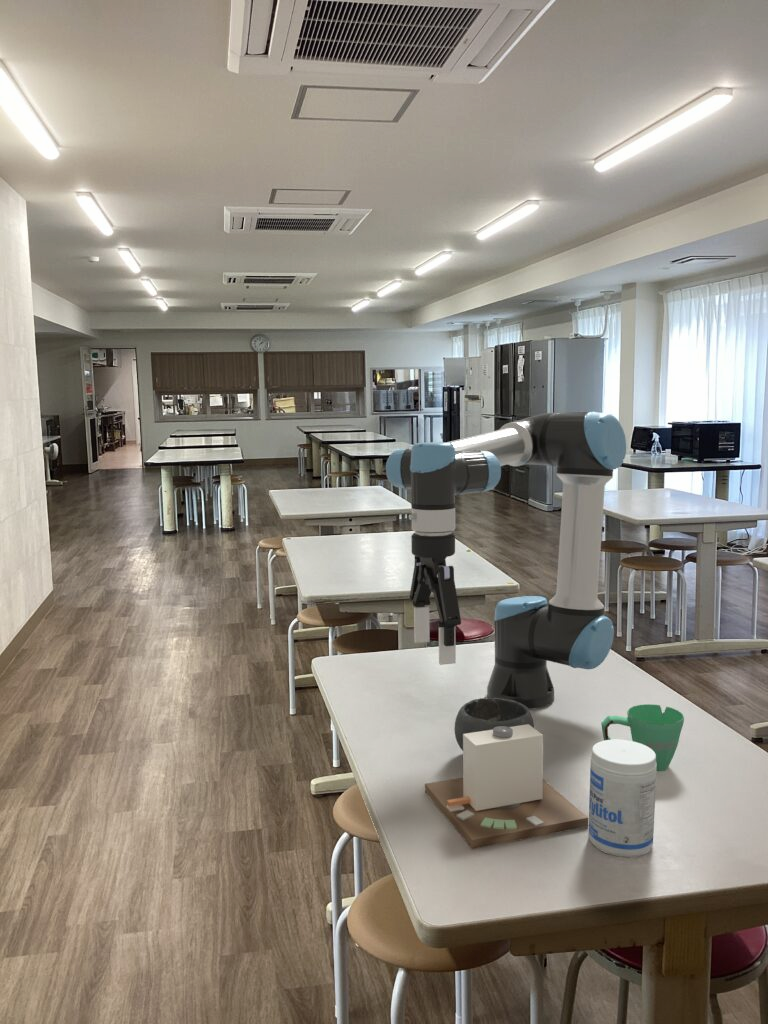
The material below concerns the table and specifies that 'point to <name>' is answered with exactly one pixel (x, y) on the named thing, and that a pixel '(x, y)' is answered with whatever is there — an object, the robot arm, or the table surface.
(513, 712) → the bowl
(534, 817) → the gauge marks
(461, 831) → the board
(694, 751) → the table surface
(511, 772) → the white block with knob
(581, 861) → the table surface
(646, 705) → the mug
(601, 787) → the supplement tub
